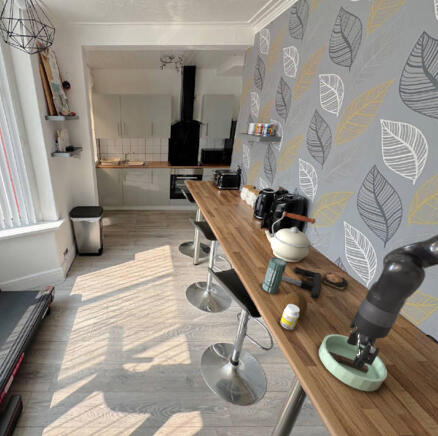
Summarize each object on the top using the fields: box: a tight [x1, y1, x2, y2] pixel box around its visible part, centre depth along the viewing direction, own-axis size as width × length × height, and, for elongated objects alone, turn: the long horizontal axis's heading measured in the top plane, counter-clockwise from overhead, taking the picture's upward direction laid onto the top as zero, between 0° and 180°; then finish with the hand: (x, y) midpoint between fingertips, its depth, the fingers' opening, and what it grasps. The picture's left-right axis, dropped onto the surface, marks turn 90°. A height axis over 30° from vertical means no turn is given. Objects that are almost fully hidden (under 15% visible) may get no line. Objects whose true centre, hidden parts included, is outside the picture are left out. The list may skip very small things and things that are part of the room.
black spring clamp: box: [281, 266, 324, 300], centre depth 111 cm, size 3×20×16 cm
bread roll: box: [323, 272, 348, 291], centre depth 112 cm, size 11×8×4 cm
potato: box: [283, 291, 308, 319], centre depth 93 cm, size 8×12×8 cm, turn 155°
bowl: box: [318, 333, 388, 392], centre depth 73 cm, size 15×15×4 cm
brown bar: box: [328, 351, 369, 373], centre depth 74 cm, size 10×3×2 cm, turn 61°
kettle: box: [264, 211, 319, 263], centre depth 129 cm, size 25×18×25 cm
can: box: [261, 256, 288, 295], centre depth 103 cm, size 6×6×15 cm
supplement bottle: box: [279, 304, 300, 330], centre depth 86 cm, size 5×5×8 cm
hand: (353, 354), depth 73 cm, fingers open, 8 cm apart
